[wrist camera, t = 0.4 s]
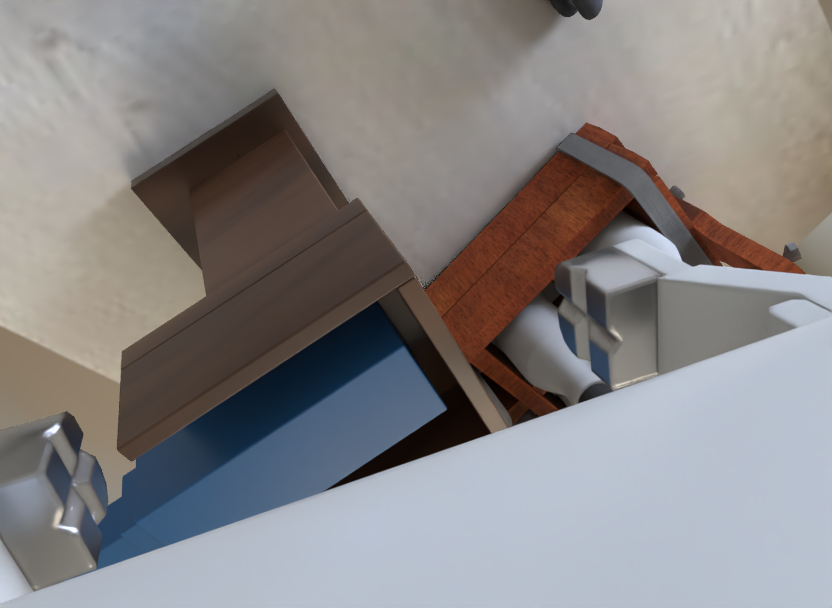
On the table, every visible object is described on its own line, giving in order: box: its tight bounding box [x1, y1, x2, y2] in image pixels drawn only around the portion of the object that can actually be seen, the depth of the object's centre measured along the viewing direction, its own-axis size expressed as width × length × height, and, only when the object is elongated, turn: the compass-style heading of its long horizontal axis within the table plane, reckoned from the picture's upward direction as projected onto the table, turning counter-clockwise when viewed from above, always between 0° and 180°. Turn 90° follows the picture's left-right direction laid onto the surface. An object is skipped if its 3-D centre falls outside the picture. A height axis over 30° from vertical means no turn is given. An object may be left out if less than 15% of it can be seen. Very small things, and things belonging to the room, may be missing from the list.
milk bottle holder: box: [425, 123, 806, 427], centre depth 56 cm, size 21×35×19 cm, turn 134°
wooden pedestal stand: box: [117, 89, 509, 492], centre depth 38 cm, size 12×12×29 cm
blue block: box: [51, 301, 447, 586], centre depth 29 cm, size 4×18×4 cm, turn 118°
